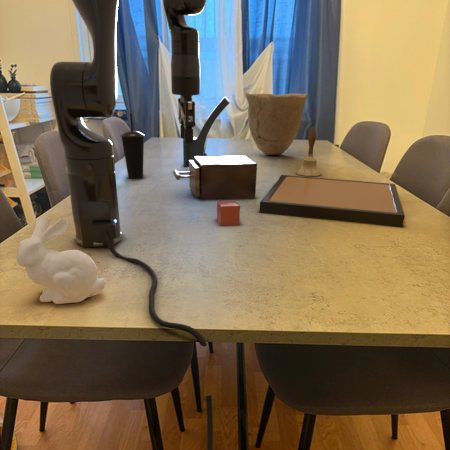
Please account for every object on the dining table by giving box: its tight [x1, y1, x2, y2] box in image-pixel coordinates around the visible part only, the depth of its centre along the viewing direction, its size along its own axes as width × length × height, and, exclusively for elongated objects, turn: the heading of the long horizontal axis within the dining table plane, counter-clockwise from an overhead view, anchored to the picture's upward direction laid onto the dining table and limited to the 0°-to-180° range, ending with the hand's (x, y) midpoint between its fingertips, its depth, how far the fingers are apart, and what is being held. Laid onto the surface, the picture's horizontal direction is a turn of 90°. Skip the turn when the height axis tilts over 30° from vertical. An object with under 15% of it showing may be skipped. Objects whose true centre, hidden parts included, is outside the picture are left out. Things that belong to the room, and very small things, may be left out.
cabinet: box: [194, 155, 258, 201], centre depth 127 cm, size 16×13×10 cm
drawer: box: [172, 160, 201, 198], centre depth 126 cm, size 20×12×8 cm, turn 103°
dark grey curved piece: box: [182, 96, 232, 167], centre depth 163 cm, size 11×17×24 cm, turn 87°
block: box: [216, 200, 241, 226], centre depth 104 cm, size 5×5×5 cm
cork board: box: [259, 174, 406, 228], centre depth 123 cm, size 36×3×35 cm
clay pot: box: [244, 92, 309, 156], centre depth 187 cm, size 27×28×25 cm
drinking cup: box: [120, 112, 145, 180], centre depth 141 cm, size 8×8×20 cm
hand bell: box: [297, 126, 321, 177], centre depth 154 cm, size 8×8×16 cm
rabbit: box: [16, 214, 106, 305], centre depth 67 cm, size 12×9×12 cm
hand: (186, 140), depth 120 cm, fingers open, 7 cm apart
